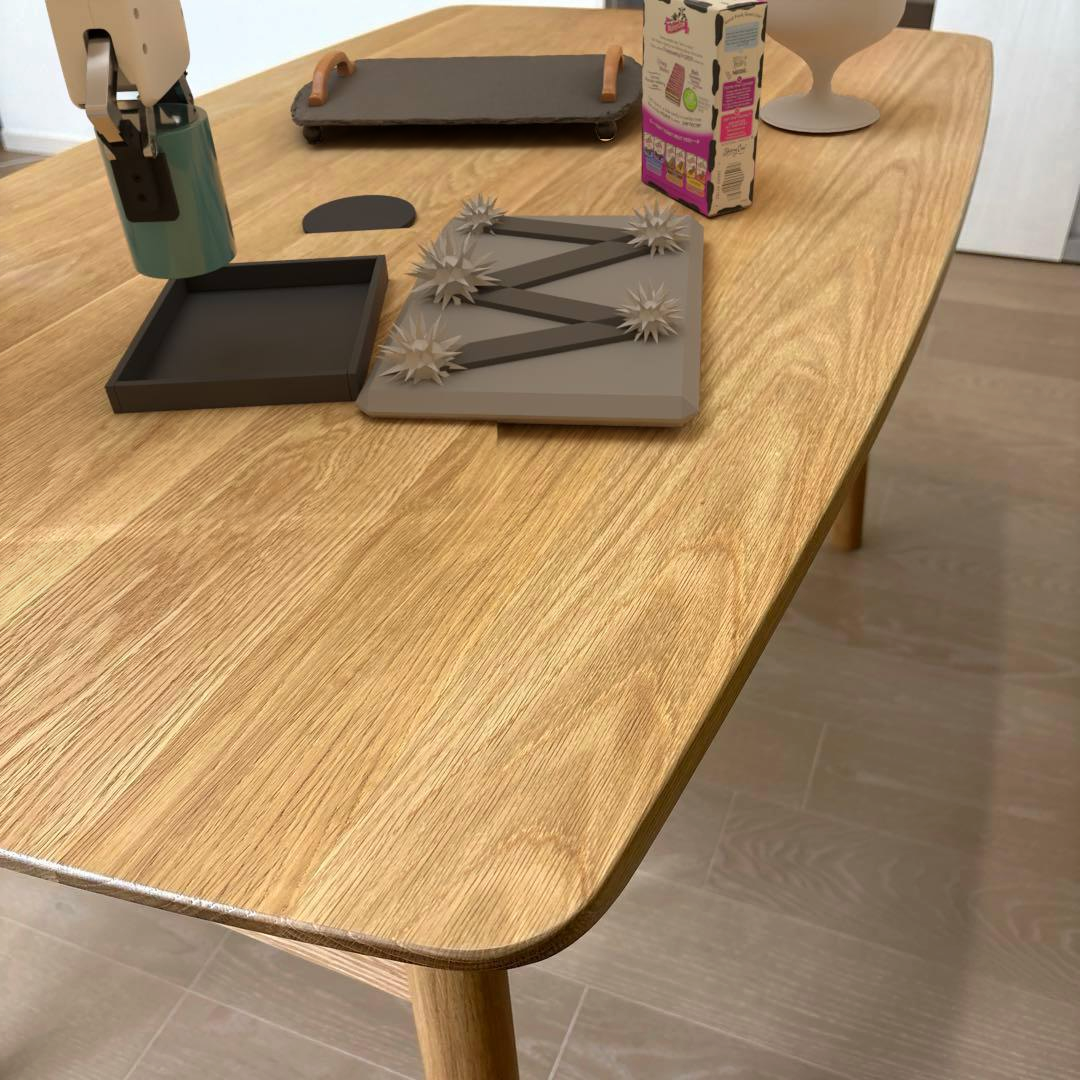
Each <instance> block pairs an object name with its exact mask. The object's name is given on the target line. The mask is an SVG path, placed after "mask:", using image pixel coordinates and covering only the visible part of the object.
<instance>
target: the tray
mask: <svg viewBox="0 0 1080 1080" xmlns="http://www.w3.org/2000/svg"><path fill="white" fill-rule="evenodd" d="M388 284H389V271H388V264H387V257H386V254H371V255H370V254H369V255H368V254H367V255H352V256H335V257H331V256H330V257H315V258H314V257H313V258H296V259H280V260H279V259H278V260H262V261H261V260H260V261H259V260H258V261H243V262H229V263H228V264H227V265H225V266H223V267H221V268H220V269H217V270H215V271H212V272H209V273H206V274H203V275H199V276H195V277H189V278H181V279H167V281H166V283H165V285H164V286H163V288H162V289H161V291H160V293H159V294H158V296H157V298H156V300H155V301H154V303H153V305H152V306H151V308H150V310H149V311H148V313H147V315H146V317H145V318H144V320H143V321H142V323H141V325H140V326H139V328H138V330H137V331H136V333H135V335H134V336H133V338H132V339H131V341H130V343H129V345H127V346H128V347H127V348H126V349H125V352H124V353H123V355H122V357H120V360H119V361H118V363H117V365H116V366H115V368H114V370H113V372H112V373H111V375H110V376H109V378H108V380H107V382H106V383H105V384H104V390H105V393H106V395H107V398H108V400H109V404H110V407H111V409H112V412H113V413H114V414H115V415H117V414H119V415H120V414H135V413H136V414H137V413H154V412H175V411H193V410H210V409H211V410H213V409H232V408H233V409H234V408H250V407H270V406H271V407H272V406H290V405H307V404H308V405H311V404H324V403H325V404H327V403H328V404H331V403H347V402H349V403H350V402H356V400H357V398H358V396H359V394H360V392H361V390H362V388H363V386H364V384H365V382H366V380H367V377H368V371H369V367H370V364H371V363H370V362H371V360H372V359H371V358H372V354H373V351H374V347H375V346H374V345H375V341H376V337H377V333H378V328H379V323H380V320H381V315H382V310H383V306H384V301H385V297H386V293H387V289H388Z"/></svg>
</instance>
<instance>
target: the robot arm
mask: <svg viewBox="0 0 1080 1080" xmlns="http://www.w3.org/2000/svg"><path fill="white" fill-rule="evenodd" d="M44 3H45V7H46V12H47V15H48V16H47V17H48V20H49V25H50V28H51V32H52V36H53V40H54V44H55V48H56V52H57V56H58V60H59V64H60V67H61V71H62V75H63V79H64V83H65V87H66V90H67V93H68V97H69V99H70V101H71V103H72V104H73V105H74V106H75V107H76V108H78V109H79V110H84V111H85V114H86V117H87V119H88V121H89V122H90V123H91V125H92V126H93V128H94V127H95V128H96V129H97V131H96V132H97V135H98V137H100V139H101V141H102V142H103V143H104V151H105V155H106V157H107V159H108V160H110V163H111V167H112V170H113V174H114V177H115V181H116V184H117V188H118V191H119V195H120V198H121V202H122V205H123V209H124V212H125V216H126V218H127V220H128V221H130V222H133V223H138V222H166V221H175V220H177V218H178V217H179V215H180V211H179V207H178V203H177V199H176V195H175V191H174V187H173V183H172V179H171V175H170V171H169V167H168V163H167V159H166V155H165V153H158V148H157V138H156V128H155V119H154V109H153V105H154V104H157V103H183V104H190V105H195V99H194V96H193V93H192V90H191V88H190V85H189V83H188V80H187V76H188V74H189V73H188V71H187V70H188V67H189V65H190V61H191V50H190V49H191V48H190V43H189V37H188V31H187V26H186V21H185V17H184V11H183V8H182V3H181V0H44ZM129 92H131V93H132V92H138V95H137V96H136V99H133V98H132V99H117V98H118V97H117V96H118V93H129ZM122 114H138V116H139V125H140V132H139V131H138V129H137V128H136V127H135V126H134V124H133V123H132V122H131V121H130V120H129V119H123V118H122Z"/></svg>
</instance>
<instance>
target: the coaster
mask: <svg viewBox="0 0 1080 1080" xmlns="http://www.w3.org/2000/svg"><path fill="white" fill-rule="evenodd" d="M302 218H303V219H302V222H301V225H302V226H301V227H302V230H303V232H304V234H306V235H311V234H326V233H328V234H329V233H346V232H363V231H382V230H399V229H401V230H402V229H409V228H410V227H411V226H412V225H413V224H414V223H415V221H416V218H417V212H416V209H415V207H414V205H413V204H412V203H411V202H409V201H408V200H406V199H403V198H401V197H398V196H393V195H385V194H384V195H383V194H363V195H352V196H347V197H342V198H337V199H334V200H330V201H327V202H325V203H322V204H320V205H318V206H316V207H314V208H313V209H311V210H309V211H308V212H307V213H306V214H305V215H304V217H302Z"/></svg>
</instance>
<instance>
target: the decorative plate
mask: <svg viewBox="0 0 1080 1080" xmlns="http://www.w3.org/2000/svg"><path fill="white" fill-rule="evenodd" d="M472 194H473V195H472V196H473V200H472V198H471V197H470V196H468V199H469V201H468V200H467V199H465V198H464V197H462V199H461V198H459V199H460V201H461V203H462V204H463V205H464V206H461V205H459V207H460V208H461V209H462V211H461V210H454V211H455V212H456V213H458V214H459V215H453V217H451V219H449V220H448V221H447V223H446V224H445V225H443V227H442V229H441V231H438V236H437V239H436V241H435V242H434V241H433V239H431V238H429V240H430V243H431V245H429V244H428V243H427V242H426V241H424V240H423V238H420V239H421V240H422V243H423V244H424V246H425V248H426V249H425V248H424V247H423V246H421V244H419V243H418V242H416V244H417V246H418V247H419V248H420V250H421V251H422V253H423V254H422V253H419V252H418V251H416V253H417V255H419V256H420V257H421V258H422V260H424V262H419V261H414V260H413V261H412V260H407V262H409V263H410V264H412V265H414V266H416V267H415V268H409V270H410V271H413V272H406V273H402V274H404V275H406V276H411V277H414V278H416V281H415V282H414V285H413V286H412V288H411V290H410V291H409V292H407V293H406V295H408V297H407V298H406V300H405V302H404V303H403V306H402V309H401V310H400V312H399V315H398V316H397V319H396V321H395V322H393V321H391V324H392V325H393V326H392V328H391V329H390V328H389V327H386V329H387V331H389V333H387V335H388V336H387V338H386V341H384V344H383V345H380V344H377V346H378V347H381V350H378V351H379V354H378V355H377V356H375V355H374V356H373V357H374V358H376V360H375V362H374V364H373V365H372V367H371V370H370V372H369V374H368V375H367V377H366V381H365V384H364V386H363V388H362V390H361V392H360V394H359V396H358V398H357V400H356V401H354V406H355V408H357V409H359V410H360V411H361V412H363V413H364V414H366V415H367V416H368V417H370V418H371V419H404V420H405V419H407V420H408V419H409V420H411V419H412V420H446V421H448V420H451V421H484V422H485V421H489V422H492V421H494V422H496V423H497V424H527V425H529V424H530V425H531V424H532V425H533V424H534V425H570V426H572V425H573V426H574V425H575V426H608V427H610V426H612V427H613V426H614V427H615V426H616V427H651V428H653V427H655V428H682V427H683V426H685V425H686V424H688V422H690V421H691V420H693V419H694V418H695V417H697V416H698V415H699V414H700V384H701V383H700V382H701V377H700V376H701V348H702V347H701V346H702V345H701V344H702V314H703V312H702V311H703V310H702V309H703V277H704V276H703V273H704V243H705V242H704V239H705V238H704V237H705V227H704V225H702V224H701V223H700V222H699V221H698V220H697V219H696V218H695V217H694V216H693V215H692V214H686V215H685V214H683V215H682V214H679V215H678V214H677V215H676V214H675V212H676V211H677V209H678V207H679V204H680V203H678V204H677V205H676V206H675V207H674V208H673V205H671V199H672V198H670V199H669V201H668V203H667V204H666V205H665V207H664V208H663V210H662V211H661V208H660V207H659V199H658V196H656V198H655V203H654V210H653V211H652V208H651V207H650V205H649V203H648V201H647V199H646V198H644V199H645V201H644V202H645V204H643V209H644V213H642V212H641V211H640V210H639V209H638V208H637V207H636V206H634V205H632V207H631V209H632V211H633V212H634V214H635V215H634V214H633V215H632V214H631V215H630V214H629V215H625V214H624V215H623V214H621V215H620V214H619V215H618V214H617V215H616V214H615V215H614V214H613V215H611V214H610V215H609V214H608V215H603V214H602V215H601V214H599V215H598V214H597V215H596V214H595V215H594V214H593V215H592V214H591V215H587V214H586V215H581V214H580V215H507V213H508V212H509V210H506V211H503V212H500V211H502V210H503V209H504V208H505V207H506V206H507V204H505V205H502V206H500V207H498V208H495V209H494V207H495V205H496V203H497V201H498V198H499V196H497V197H495V199H494V200H493V201H492V199H493V195H494V192H492V193H491V195H489V196H488V198H487V199H486V201H485V200H484V195H483V190H482V189H480V192H478V198H477V196H476V195H475V192H473V193H472ZM463 200H464V201H463ZM491 201H492V202H491ZM670 205H671V206H670ZM672 208H673V209H672ZM674 214H675V215H674Z"/></svg>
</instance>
